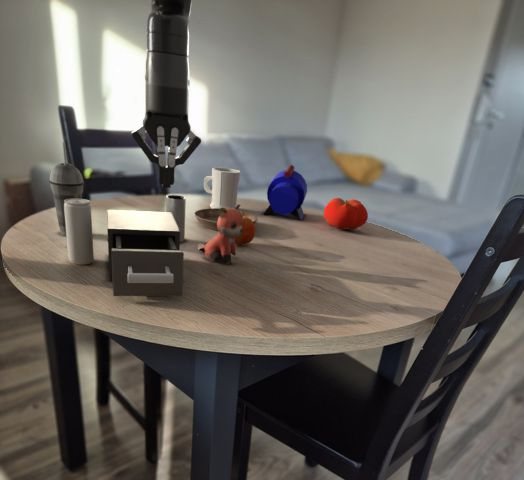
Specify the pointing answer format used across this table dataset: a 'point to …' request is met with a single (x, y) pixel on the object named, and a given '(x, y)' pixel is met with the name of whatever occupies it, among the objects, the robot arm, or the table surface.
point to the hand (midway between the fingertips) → (166, 186)
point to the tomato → (345, 214)
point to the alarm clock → (287, 193)
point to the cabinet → (139, 227)
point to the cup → (223, 187)
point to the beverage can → (79, 231)
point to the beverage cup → (65, 187)
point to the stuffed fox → (224, 236)
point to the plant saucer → (215, 217)
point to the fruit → (246, 232)
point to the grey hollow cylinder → (177, 211)
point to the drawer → (146, 266)
